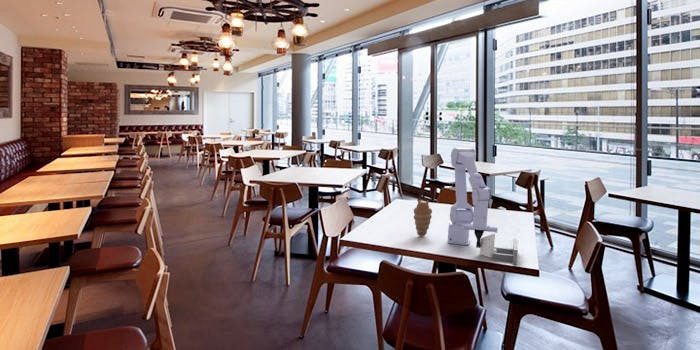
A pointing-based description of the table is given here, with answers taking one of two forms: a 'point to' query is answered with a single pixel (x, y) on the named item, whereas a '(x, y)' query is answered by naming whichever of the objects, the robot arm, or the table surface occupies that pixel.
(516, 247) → the socket bay
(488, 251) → the white wedge bracket
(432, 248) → the table surface
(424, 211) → the cat ice cream
